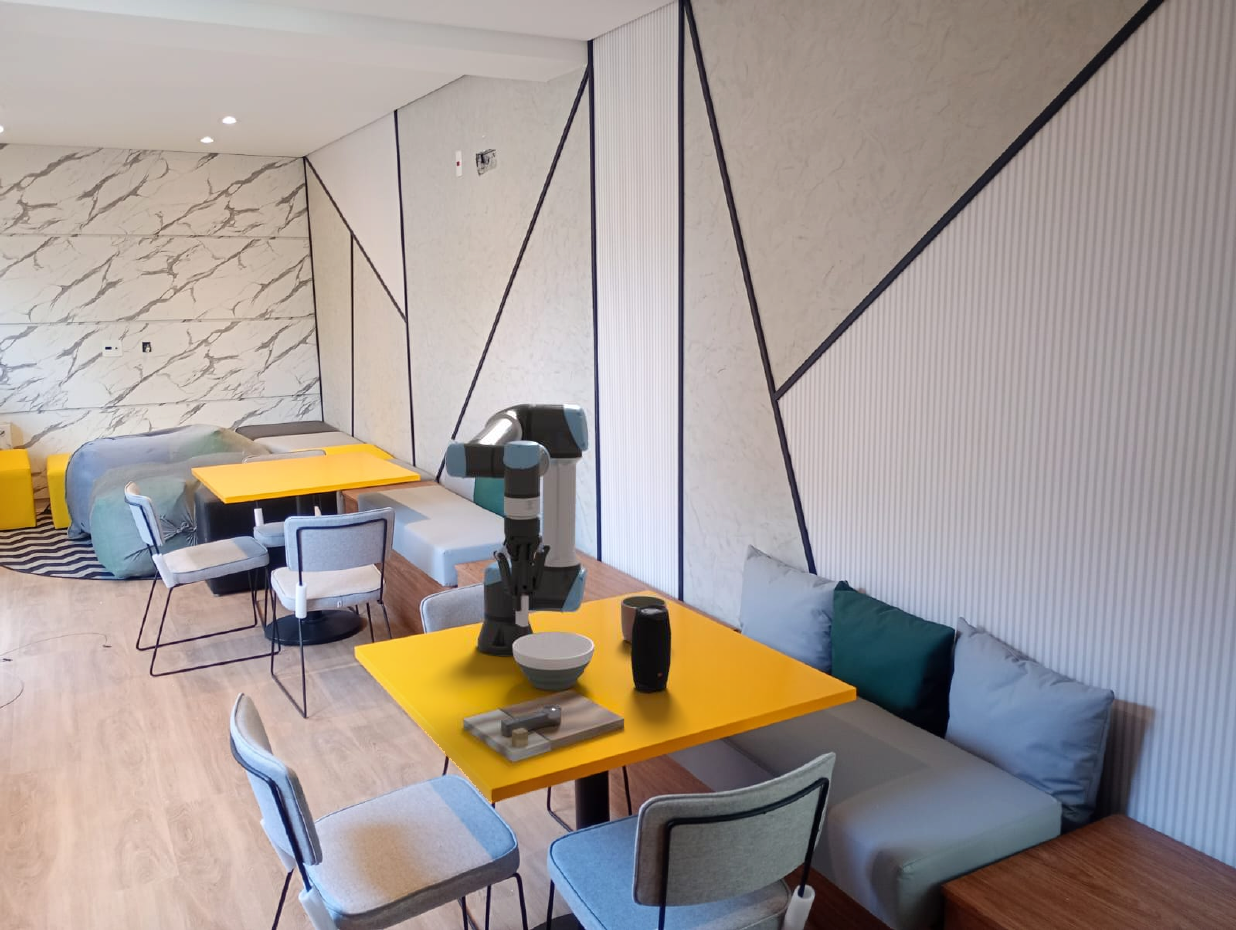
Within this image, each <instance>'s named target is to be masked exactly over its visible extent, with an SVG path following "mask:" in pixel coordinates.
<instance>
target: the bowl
mask: <svg viewBox="0 0 1236 930" xmlns="http://www.w3.org/2000/svg"><path fill="white" fill-rule="evenodd" d="M594 651H595V643H594V642H593V640H592V639H590V638H589V637H587V636H584V635H581V634H577V633H572V632H567V631H566V632H564V631H542V632H536V633H534V632H533V634H530V635H526V636H523V637H521V638H519V639H517V640H516V641H515V642H514V643H513V655H514V656H513V658H514V660H515V662H516V663H517V665H518V667H519V668H520V669H521V672H522V673H523V675H524V676H525V677H526V678H527V679H528V681H529V683H530V685H531V686H532V687H534V688H536V689H539V690H542V691H552V692H553V691H555V692H556V691H563V690H564V691H565V690H568V689H570V688H572V687H574V686H575V685H576V683H577V682H578V678H580V677H581V676H582V674H584V672H585V670H586V668H587V667H588V666H589V664H590V662H591V660H592V659H593V656H594V653H595V652H594Z"/></svg>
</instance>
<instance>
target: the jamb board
mask: <svg viewBox="0 0 1236 930" xmlns="http://www.w3.org/2000/svg"><path fill="white" fill-rule="evenodd" d="M549 705H555V706H559V707H561V723H560V724H558V725H553V726H550V725H548V726H544V727H540V728H537V729H533V730H529V731H527V730H526V729H524V728H520V729H516V730H513V731H512V735H511V736H505V735H504V734H503V733H501V721H502V720H506V719H510V718H514V717H518V716H522V715H526V714H529V713H533V712H537V711H541V710H542V709H543V707H545V706H549ZM462 728H463V729H464V730H466V731H467V732H468V733H470V734H472V735H473V736H475V737H476V738H477V739H479V740H480V741H482V742H483V743H484V744H486V745H487V746H488V747H490V748H492V749H493V750H494V751H496V752H498V753H499V754H500V755H502V756H503V757H504V758H506V759H507V760H509V761H510V762H511V763H515V762H519V761H521V760H524V759H528V758H531V757H534V756H537V755H539V754H540V755H541V754H544V753H546V752H550V751H553V750H556V749H560V748H563V747H566V746H570V745H572V744H576V743H578V742H582V741H586V740H588V739H591V738H594V737H595V738H596V737H598V736H600V735H604V734H607V733H610V732H613V731H617V730H620V729H623V728H625V717H622V716H620V715H619V714H617V713H615V712H613V711H611V710H609V709H608V708H606V707H604V706H602V705H600V704H598V703H596V702H595V701H592V700H590V699H589V698H587V697H585V696H583V695H581V694H580V693H578V692H576V691H574V690H573V689H570V688H569V689H566V690H564V691H563V690H562V691H560V692H557V693H552V694H548V695H546V696H541V697H537V698H535V699H531V700H527V701H523V702H520V703H517V704H513V705H509V706H505V707H502V708H500V707H499V708H498V709H494V710H490V711H487V712H483V713H479V714H476V715H472V716H469V717H465V718H462Z"/></svg>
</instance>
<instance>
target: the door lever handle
mask: <svg viewBox="0 0 1236 930" xmlns="http://www.w3.org/2000/svg"><path fill="white" fill-rule="evenodd" d="M560 723H561V707H559V706H555V705H549V706H545V707H543V709H542V710H541V711H537V712H533V713H529V714H526V715H522V716H518V717H514V718H510V719H506V720H502V721H501V733H503V734H504V735H505V736H511V735H512V731H513V730H516V729H520V728H524V729H526V730H527V731H529V730H533V729H537V728H540V727H544V726H548V725H550V726H553V725H558V724H560Z"/></svg>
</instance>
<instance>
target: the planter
mask: <svg viewBox="0 0 1236 930" xmlns="http://www.w3.org/2000/svg"><path fill="white" fill-rule="evenodd" d="M650 604H659V605H663V606H665V607H666V608H667V601H666V600H665V599H664V598H661V597H658V596H651V595H633V596H632V595H631V596H627V597H625V598H623V599H621V601H620V616H621V617H620V619H621V620H620V623H621V633H622V637H623V638H624V640H625V641H626V642H629V643H630V644H632V627H633V623H634V618H635V611H636V607H642V606H647V605H650Z"/></svg>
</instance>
